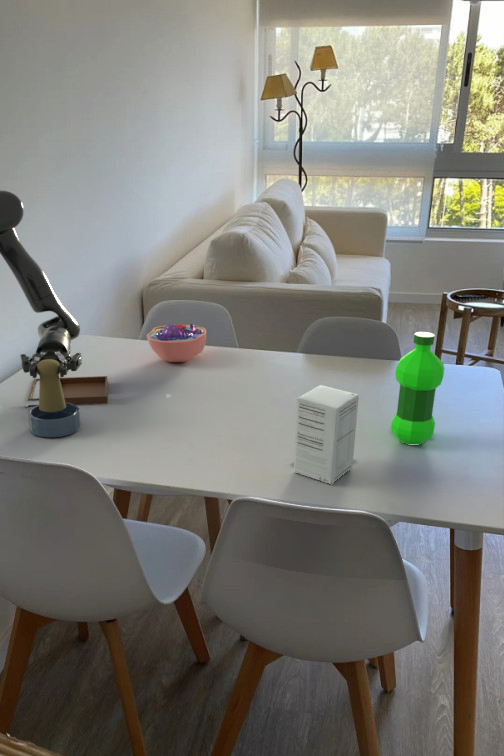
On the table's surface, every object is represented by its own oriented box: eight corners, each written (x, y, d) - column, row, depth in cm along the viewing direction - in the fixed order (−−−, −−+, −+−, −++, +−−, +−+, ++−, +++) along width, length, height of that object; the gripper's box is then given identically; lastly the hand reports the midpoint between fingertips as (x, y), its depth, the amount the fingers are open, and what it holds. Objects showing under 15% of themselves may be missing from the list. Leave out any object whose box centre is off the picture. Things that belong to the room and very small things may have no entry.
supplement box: (315, 457, 152) (320, 383, 145) (353, 468, 148) (360, 393, 140) (291, 473, 145) (295, 396, 138) (331, 486, 141) (337, 407, 133)
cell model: (220, 355, 215) (220, 319, 210) (181, 373, 199) (180, 334, 194) (175, 346, 223) (174, 310, 218) (134, 362, 207) (132, 325, 202)
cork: (37, 412, 158) (32, 365, 153) (40, 402, 163) (35, 356, 158) (65, 411, 158) (60, 364, 154) (67, 401, 164) (63, 356, 159)
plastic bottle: (378, 438, 162) (390, 332, 151) (410, 428, 168) (423, 325, 157) (411, 454, 155) (426, 344, 144) (443, 443, 160) (459, 336, 150)
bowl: (28, 440, 157) (25, 421, 155) (33, 420, 167) (31, 402, 165) (79, 437, 159) (77, 419, 157) (81, 418, 169) (80, 400, 167)
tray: (28, 407, 175) (27, 399, 174) (34, 385, 188) (34, 378, 187) (107, 403, 178) (107, 396, 177) (108, 382, 191) (107, 375, 190)
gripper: (21, 335, 167) (11, 357, 152) (83, 334, 169) (80, 356, 154) (24, 365, 170) (15, 390, 155) (85, 363, 172) (82, 388, 157)
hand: (47, 373), depth 155 cm, fingers closed on cork, 5 cm apart
